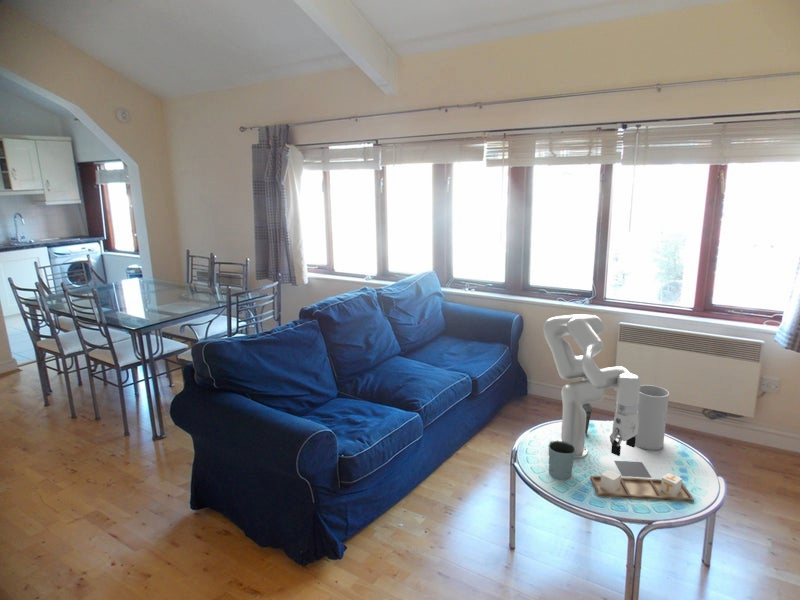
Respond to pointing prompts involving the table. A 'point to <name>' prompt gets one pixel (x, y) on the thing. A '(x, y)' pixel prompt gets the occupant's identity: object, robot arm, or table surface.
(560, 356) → the robot arm
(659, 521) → the table surface
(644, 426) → the cylinder vase
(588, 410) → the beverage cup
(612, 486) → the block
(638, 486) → the tray board
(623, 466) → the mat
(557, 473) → the grey green pot
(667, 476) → the letter block
